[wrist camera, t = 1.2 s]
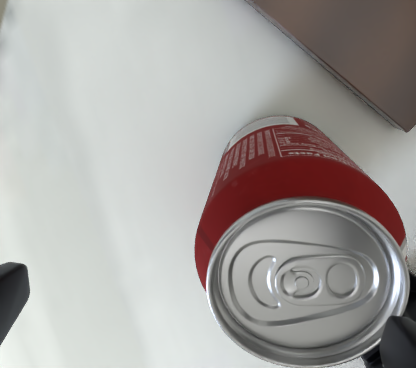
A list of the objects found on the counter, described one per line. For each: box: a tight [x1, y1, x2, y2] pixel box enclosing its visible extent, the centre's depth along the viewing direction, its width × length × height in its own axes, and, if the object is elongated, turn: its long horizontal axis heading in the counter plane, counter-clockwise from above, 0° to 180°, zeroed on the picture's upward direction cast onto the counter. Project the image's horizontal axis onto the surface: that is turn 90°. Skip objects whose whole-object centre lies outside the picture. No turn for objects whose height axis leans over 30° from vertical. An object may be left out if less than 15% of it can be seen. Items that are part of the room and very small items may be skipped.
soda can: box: [195, 115, 410, 368], centre depth 15 cm, size 7×7×12 cm
